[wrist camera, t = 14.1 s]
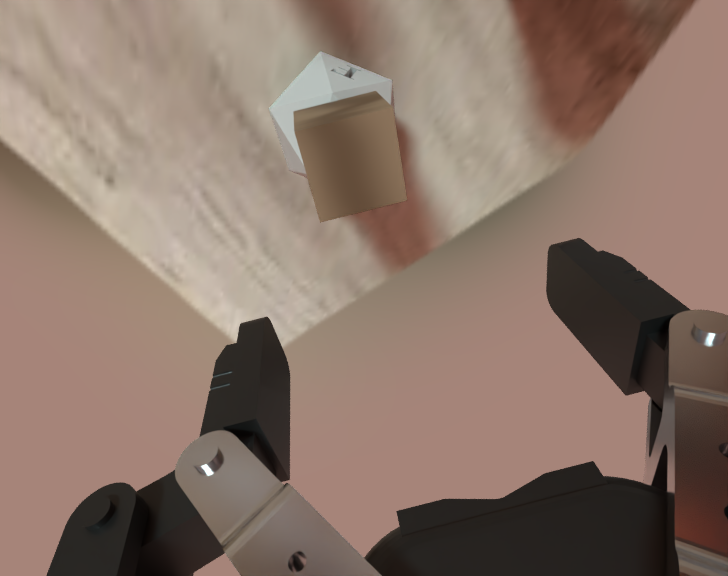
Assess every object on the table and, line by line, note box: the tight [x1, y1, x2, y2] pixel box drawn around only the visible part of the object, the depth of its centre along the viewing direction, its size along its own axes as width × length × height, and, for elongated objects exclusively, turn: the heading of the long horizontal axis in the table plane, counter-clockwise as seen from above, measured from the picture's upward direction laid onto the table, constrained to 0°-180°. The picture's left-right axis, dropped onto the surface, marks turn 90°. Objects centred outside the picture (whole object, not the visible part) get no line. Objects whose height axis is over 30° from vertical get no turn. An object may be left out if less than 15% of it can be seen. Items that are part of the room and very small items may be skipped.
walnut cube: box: [293, 91, 407, 222], centre depth 25 cm, size 5×5×5 cm
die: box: [269, 51, 395, 177], centre depth 30 cm, size 8×9×10 cm
